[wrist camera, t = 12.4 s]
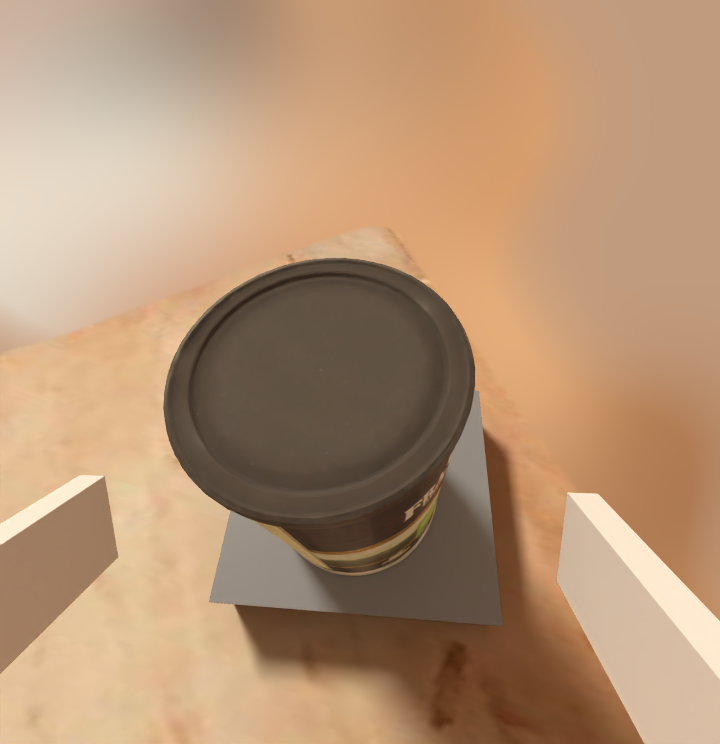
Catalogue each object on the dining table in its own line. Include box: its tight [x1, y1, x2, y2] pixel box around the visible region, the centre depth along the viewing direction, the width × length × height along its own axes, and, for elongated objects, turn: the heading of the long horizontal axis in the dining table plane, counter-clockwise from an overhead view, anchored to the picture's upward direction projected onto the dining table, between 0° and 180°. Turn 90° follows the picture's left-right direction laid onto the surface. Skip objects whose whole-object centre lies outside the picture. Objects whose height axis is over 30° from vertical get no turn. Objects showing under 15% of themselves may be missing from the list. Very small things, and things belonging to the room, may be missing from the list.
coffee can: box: [163, 258, 475, 576], centre depth 19 cm, size 10×10×14 cm
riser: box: [209, 391, 503, 626], centre depth 27 cm, size 16×14×4 cm
